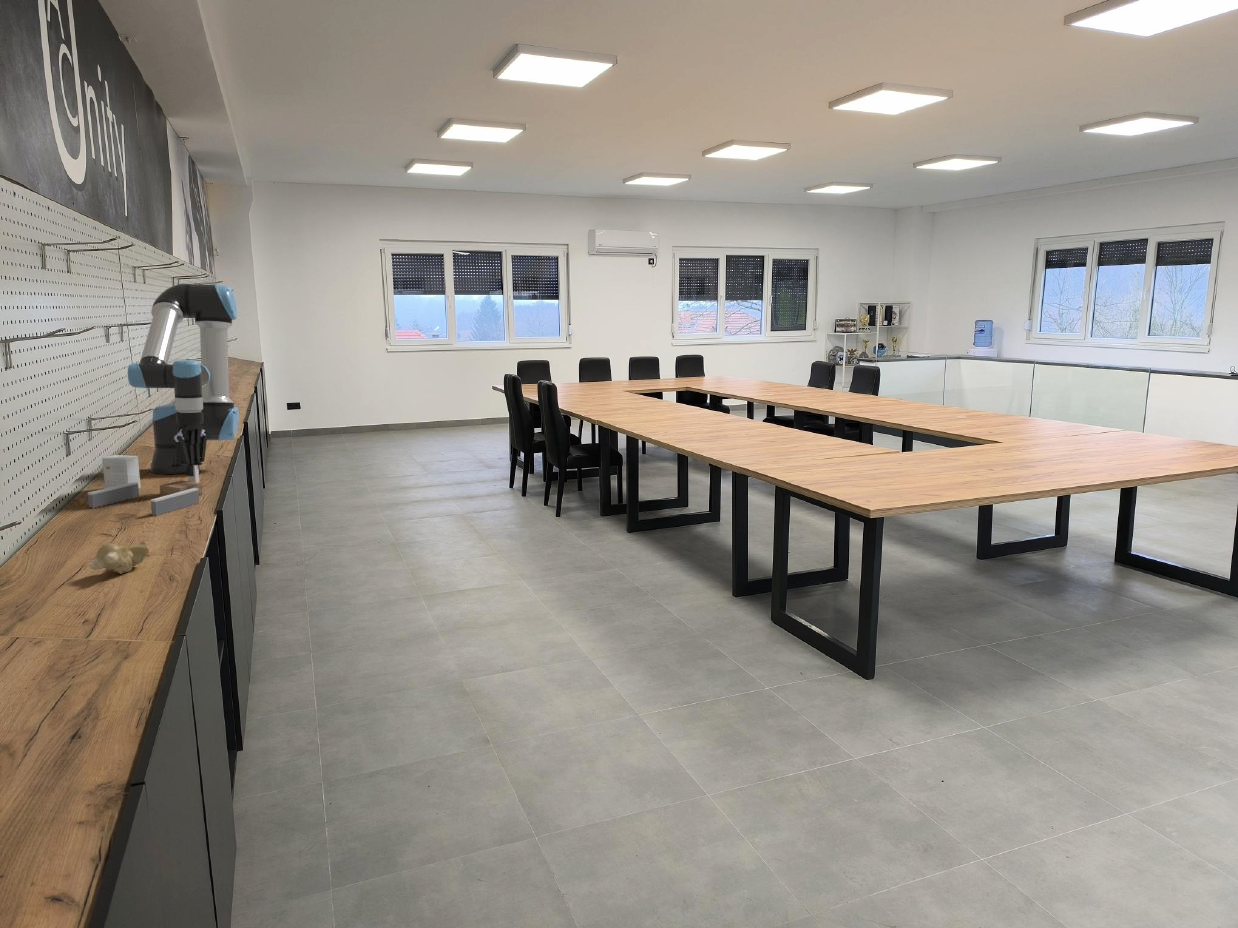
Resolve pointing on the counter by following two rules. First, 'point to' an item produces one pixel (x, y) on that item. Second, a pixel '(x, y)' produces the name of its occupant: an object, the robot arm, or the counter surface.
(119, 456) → the small box
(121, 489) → the corridor walls
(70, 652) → the counter surface
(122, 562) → the beige lumpy piece
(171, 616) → the counter surface
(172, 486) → the walnut block
